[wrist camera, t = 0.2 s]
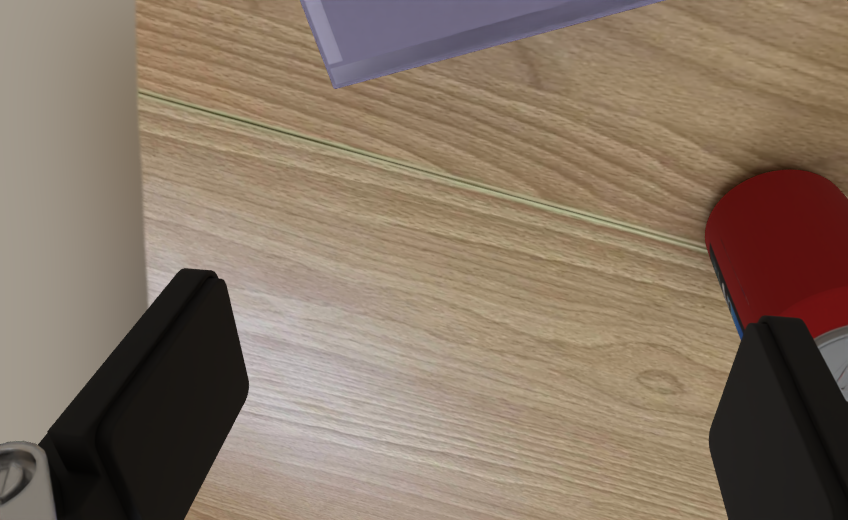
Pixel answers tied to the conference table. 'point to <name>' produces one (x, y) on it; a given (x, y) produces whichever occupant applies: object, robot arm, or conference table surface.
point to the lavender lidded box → (433, 29)
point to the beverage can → (786, 257)
